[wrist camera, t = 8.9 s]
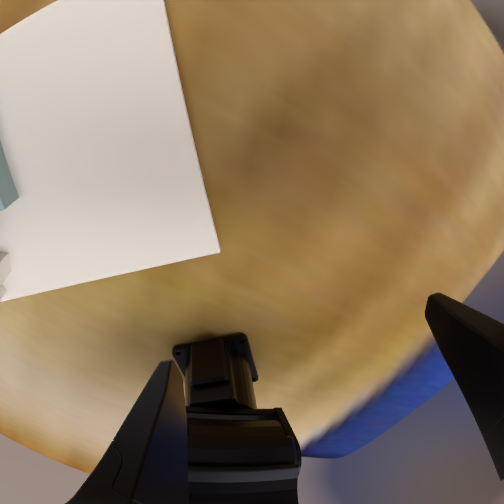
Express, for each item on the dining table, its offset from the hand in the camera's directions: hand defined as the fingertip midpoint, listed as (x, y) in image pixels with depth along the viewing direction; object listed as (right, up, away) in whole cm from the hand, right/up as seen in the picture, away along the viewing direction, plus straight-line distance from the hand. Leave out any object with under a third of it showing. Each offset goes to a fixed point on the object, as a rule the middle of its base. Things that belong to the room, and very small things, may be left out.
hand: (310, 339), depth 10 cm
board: (-17, +9, +6) cm, 20 cm away
